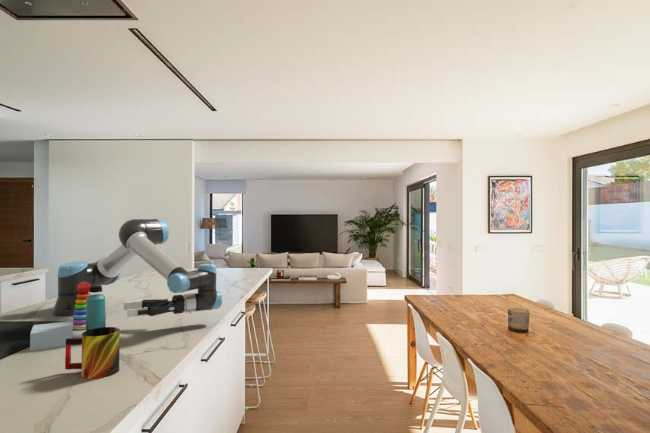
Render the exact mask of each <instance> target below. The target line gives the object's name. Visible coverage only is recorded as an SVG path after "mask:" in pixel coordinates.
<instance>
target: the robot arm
mask: <svg viewBox="0 0 650 433" xmlns="http://www.w3.org/2000/svg"><path fill="white" fill-rule="evenodd" d="M169 233H170V229H169V226H168V224H167V222H166V221H165V220H163V219H159V218H154V219H153V218H152V219H150V218H147V219H146V218H144V219H143V218H137V219H135V218H133V219H129V220H127V221H125V222H124V223H123V224H122V225H121V226H120V228H119V231H118V240H119V242H120V243H121V244H120V245H119V246H118V247H117V248H116V249H114V250H113V251H112V252H111V253H110V254H109V255H107V256H102V257H100V258H99V259H98V260H97V261H96V262H89V263H88V262H87V261H83V260H82V261H81V260H80V261H71V262H67V263H63V264H61V265H59V268H58V270H57V298H56V301H55V303H54V307H53V309H52V315H54V316H59V317H63V316H64V317H65V316H66V317H68V316H69V317H70V316H73V315H74V310H75V309H76V308H75V305H76V300H77V295H78V294H80V293H79V292H78V291H77V286H78V284H80V283H81V282H88V283H90V284H91V286H108V285H111V284H114V283H115V282H116V283H117V281H119V279H120V275H121V269H122V268H124V267H125V266H126V265H127V264H128V263H129V262H131V261H132V260H134V258H136V257H137V256H138V257H140V258H141V259H142V260H143V261H144V262H145V263H147V265H149V266H150V267H151V268H152V269H153V270H154V271H156V272H157V273H158V274H159V275H160V276H162V277H163V279H165V280H166V286H167V287H168V290H169V291H170V292H171V293H173V294H175V295H173V296H172V297H171V300H169V299H168V298H164V299H161V298H160V299H143V300H138V301H137V300H136V301H128V302H123V310H124V311H126V310H127V313H126V314H127V318H134V317H141V316H142V317H143V316H149V317H154V316H159V315H162V314H166V313H173V314H174V315H178V314H183V313H188V314H192V312H193V313H194V312H202V311H203V312H204V311H213V310H218V309H220V308H221V307H222V304H223V295H222V293H221V291H219V290H217V266H216V265H215V264H214V263H201V264H198V265H197V270H190V271H188V270H186V269H185V268H184V267H183V266H181V265H180V264H179V263H178V262H177V261H175V259H173V258H172V257H170V256H169V255H168V254H167V253H166V252H164V250H162V249H161V248H160V247H158V244H159V245H163V244H165V243H166V242H167V241H168V239H169ZM193 290H197V292H195V293H192V292H191V293H185V292H189V291H193ZM176 293H177V294H176ZM178 293H185V294H178Z"/></svg>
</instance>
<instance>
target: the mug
mask: <svg viewBox="0 0 650 433" xmlns="http://www.w3.org/2000/svg"><path fill="white" fill-rule="evenodd" d="M120 331H121V330H120V328H119V327H117V326H105V327H101V328H95V329H90V330H87V331H86V330H85V331H83V332H82V333H81V337H78V338H77V337H75V338H74V337H73V338H68V339H66V347H65V357H64V359H65V360H64V361H65V362H64V370H81V377H82V378H83V379H86V378H87V379H86V380H98V379H103V378H104V377H105V378H108V377H112V376H114V375H115V374H118V373H119V371H120V350H121V349H120V346H121V345H120V340H121V339H120V335H121V334H120ZM71 345H72V346H73V345H79V346H80V345H81V362H72V346H71Z"/></svg>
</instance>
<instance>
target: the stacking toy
mask: <svg viewBox="0 0 650 433" xmlns="http://www.w3.org/2000/svg"><path fill="white" fill-rule="evenodd" d="M90 287H91V284H90V283H88V282H81V283H80V284H78V286H77V291H78V292H79V293H80V294H78V295H77V300H76V305H75V308H76V309H75V310H74V315H72V319H71V321H73V331H74V330H75V331H80V330H81V331H82V330H86V298H87V297H88V296H90V295H92V294H91V292H89V290H90Z"/></svg>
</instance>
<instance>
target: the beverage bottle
mask: <svg viewBox="0 0 650 433" xmlns="http://www.w3.org/2000/svg"><path fill="white" fill-rule="evenodd" d="M101 292H103V285H101V286H91V287H90V290H89V293H90V294H91V293H94V294H91V295H90V296H88V297H87V298H86V329H85V331H87V330H90V329H95V328H101V327H106V324H107V320H106V318H107V317H106V296H105V295H104V294H100V293H101ZM97 293H98V294H97Z"/></svg>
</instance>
